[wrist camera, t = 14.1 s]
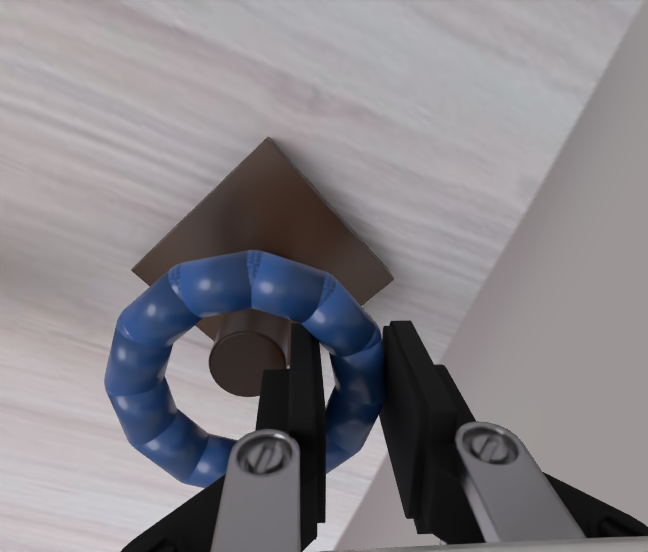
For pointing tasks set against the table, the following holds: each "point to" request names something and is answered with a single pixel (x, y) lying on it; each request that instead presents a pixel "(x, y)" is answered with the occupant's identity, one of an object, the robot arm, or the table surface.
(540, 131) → the table surface
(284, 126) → the table surface
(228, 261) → the ring
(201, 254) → the peg
